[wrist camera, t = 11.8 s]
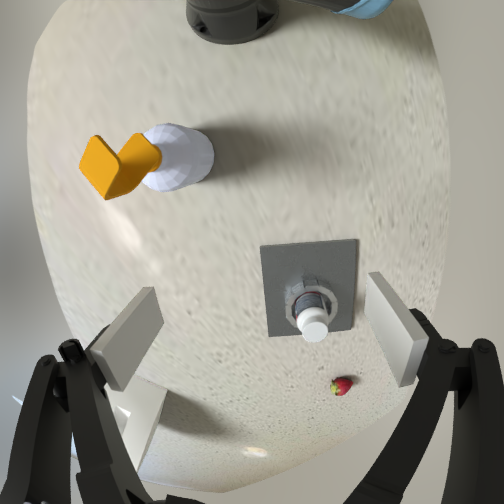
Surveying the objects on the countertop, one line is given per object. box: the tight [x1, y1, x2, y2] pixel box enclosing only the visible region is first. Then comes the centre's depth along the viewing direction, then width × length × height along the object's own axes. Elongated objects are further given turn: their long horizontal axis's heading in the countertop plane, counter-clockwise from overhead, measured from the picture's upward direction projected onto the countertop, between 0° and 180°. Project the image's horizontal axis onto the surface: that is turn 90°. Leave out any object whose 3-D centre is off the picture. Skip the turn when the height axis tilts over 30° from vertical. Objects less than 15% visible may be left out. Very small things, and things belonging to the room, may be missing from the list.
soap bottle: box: [79, 123, 214, 200], centre depth 29 cm, size 9×9×25 cm
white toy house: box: [104, 374, 168, 473], centre depth 51 cm, size 19×15×25 cm
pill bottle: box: [295, 291, 329, 342], centre depth 43 cm, size 5×5×9 cm
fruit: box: [330, 378, 353, 396], centre depth 52 cm, size 4×6×5 cm
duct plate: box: [260, 239, 356, 337], centre depth 46 cm, size 18×16×3 cm
